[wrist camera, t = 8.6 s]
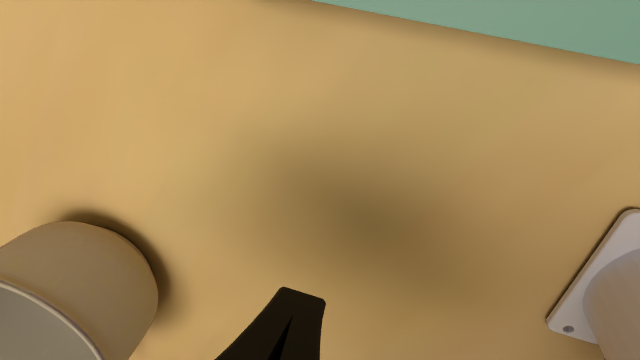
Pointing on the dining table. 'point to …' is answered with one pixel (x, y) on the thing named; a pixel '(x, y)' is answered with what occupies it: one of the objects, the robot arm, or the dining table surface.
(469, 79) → the dining table surface
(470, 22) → the lid
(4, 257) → the teacup
